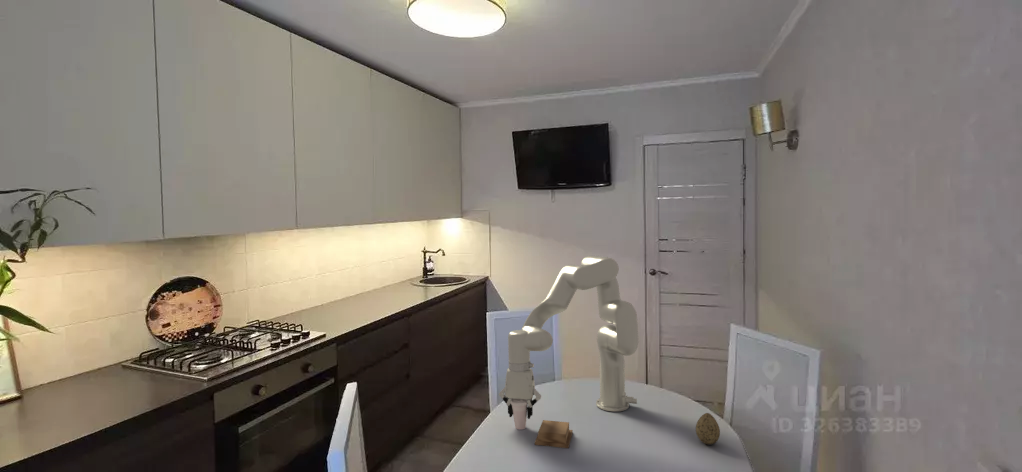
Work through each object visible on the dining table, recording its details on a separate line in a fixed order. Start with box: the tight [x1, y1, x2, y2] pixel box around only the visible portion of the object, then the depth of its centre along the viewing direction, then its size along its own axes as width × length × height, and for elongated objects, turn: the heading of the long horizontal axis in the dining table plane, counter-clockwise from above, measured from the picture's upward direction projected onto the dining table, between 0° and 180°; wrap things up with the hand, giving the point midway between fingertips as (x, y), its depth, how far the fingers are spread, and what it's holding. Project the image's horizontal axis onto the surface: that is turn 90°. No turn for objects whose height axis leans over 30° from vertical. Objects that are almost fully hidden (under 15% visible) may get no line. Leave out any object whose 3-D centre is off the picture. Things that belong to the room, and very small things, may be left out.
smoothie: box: [511, 399, 528, 430], centre depth 163 cm, size 6×6×14 cm
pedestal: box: [534, 419, 573, 449], centre depth 155 cm, size 11×11×4 cm
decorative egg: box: [695, 412, 721, 446], centre depth 149 cm, size 7×7×10 cm
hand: (520, 415), depth 163 cm, fingers closed on smoothie, 5 cm apart
